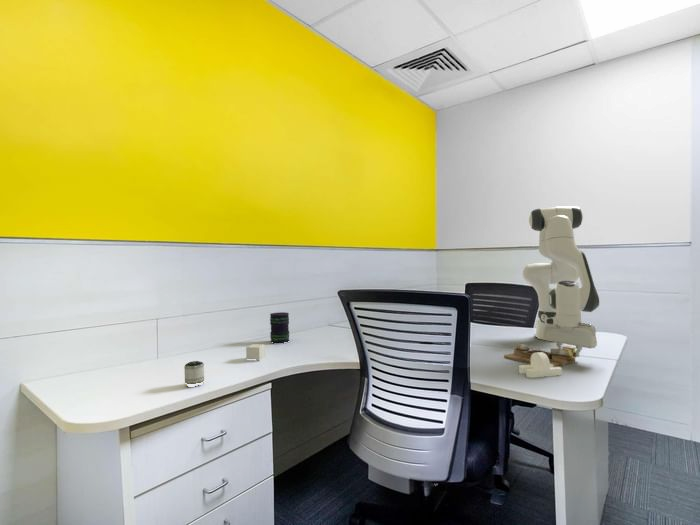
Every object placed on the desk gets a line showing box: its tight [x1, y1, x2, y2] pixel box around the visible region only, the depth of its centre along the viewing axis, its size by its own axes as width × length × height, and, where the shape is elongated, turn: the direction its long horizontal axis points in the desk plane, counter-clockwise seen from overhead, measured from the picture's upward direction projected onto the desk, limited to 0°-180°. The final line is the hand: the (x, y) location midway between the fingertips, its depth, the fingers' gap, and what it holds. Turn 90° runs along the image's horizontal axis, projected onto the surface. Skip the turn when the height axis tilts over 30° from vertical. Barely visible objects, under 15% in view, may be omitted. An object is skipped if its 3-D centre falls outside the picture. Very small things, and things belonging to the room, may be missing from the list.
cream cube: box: [245, 343, 266, 360], centre depth 167 cm, size 6×6×6 cm
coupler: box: [562, 346, 577, 362], centre depth 155 cm, size 4×4×5 cm
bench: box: [503, 342, 573, 367], centre depth 156 cm, size 15×20×5 cm
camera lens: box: [183, 360, 205, 384], centre depth 133 cm, size 6×6×8 cm
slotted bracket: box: [518, 352, 563, 379], centre depth 138 cm, size 13×7×8 cm, turn 101°
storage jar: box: [269, 311, 290, 344], centre depth 202 cm, size 10×10×15 cm
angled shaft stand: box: [550, 348, 568, 362], centre depth 152 cm, size 4×6×4 cm, turn 60°
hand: (569, 355), depth 155 cm, fingers closed on coupler, 4 cm apart
